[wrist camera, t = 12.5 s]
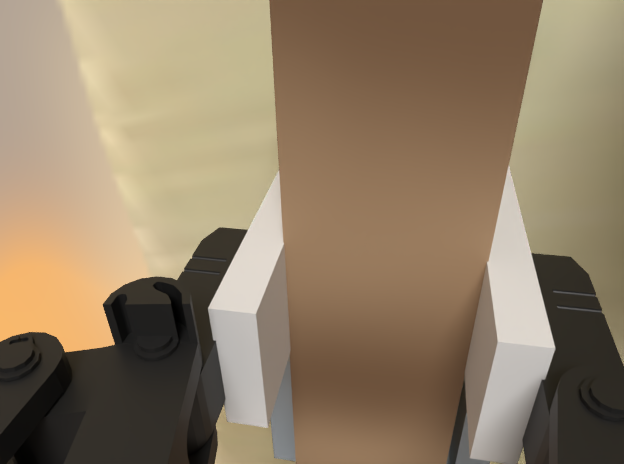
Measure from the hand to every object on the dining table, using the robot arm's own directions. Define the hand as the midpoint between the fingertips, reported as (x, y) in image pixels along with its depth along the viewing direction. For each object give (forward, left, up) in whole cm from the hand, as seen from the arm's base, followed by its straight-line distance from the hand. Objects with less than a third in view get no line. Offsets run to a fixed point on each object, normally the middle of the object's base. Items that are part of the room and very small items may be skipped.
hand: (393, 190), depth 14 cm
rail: (+1, 0, 0) cm, 2 cm away
